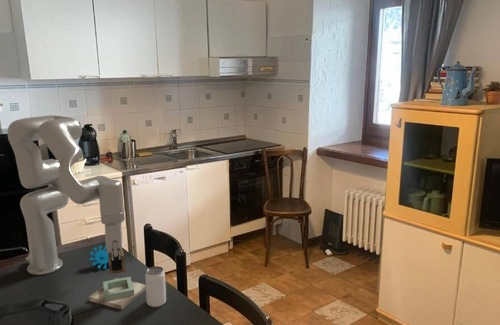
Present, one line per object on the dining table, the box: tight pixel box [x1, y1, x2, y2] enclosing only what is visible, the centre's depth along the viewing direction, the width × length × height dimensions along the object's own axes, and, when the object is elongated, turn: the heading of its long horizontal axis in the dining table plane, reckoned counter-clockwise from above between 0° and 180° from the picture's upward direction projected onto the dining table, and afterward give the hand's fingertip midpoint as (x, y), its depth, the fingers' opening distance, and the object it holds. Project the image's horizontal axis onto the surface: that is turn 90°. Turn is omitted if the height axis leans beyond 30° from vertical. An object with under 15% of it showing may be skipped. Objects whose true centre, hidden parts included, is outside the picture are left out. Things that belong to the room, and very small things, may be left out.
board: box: [88, 277, 146, 310], centre depth 145 cm, size 14×14×2 cm
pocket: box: [102, 276, 134, 301], centre depth 145 cm, size 10×10×2 cm
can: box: [144, 265, 167, 308], centre depth 139 cm, size 6×6×12 cm
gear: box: [89, 245, 109, 270], centre depth 167 cm, size 11×6×10 cm
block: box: [108, 249, 126, 275], centre depth 142 cm, size 5×5×6 cm
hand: (116, 265), depth 143 cm, fingers closed on block, 4 cm apart
